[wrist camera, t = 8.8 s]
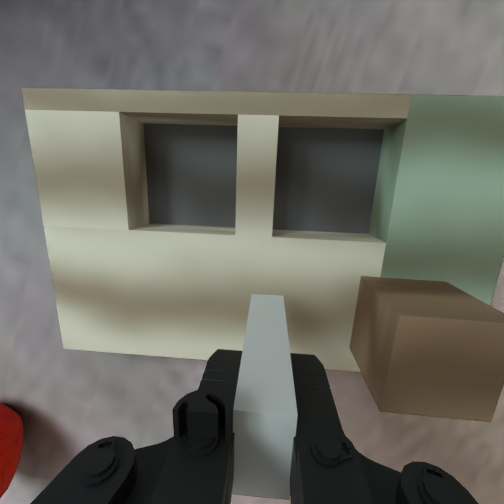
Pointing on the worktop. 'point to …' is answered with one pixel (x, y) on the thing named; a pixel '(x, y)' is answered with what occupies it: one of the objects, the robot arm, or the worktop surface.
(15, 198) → the worktop surface
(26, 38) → the worktop surface
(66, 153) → the shape sorter board
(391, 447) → the worktop surface
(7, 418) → the apple
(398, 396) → the block
